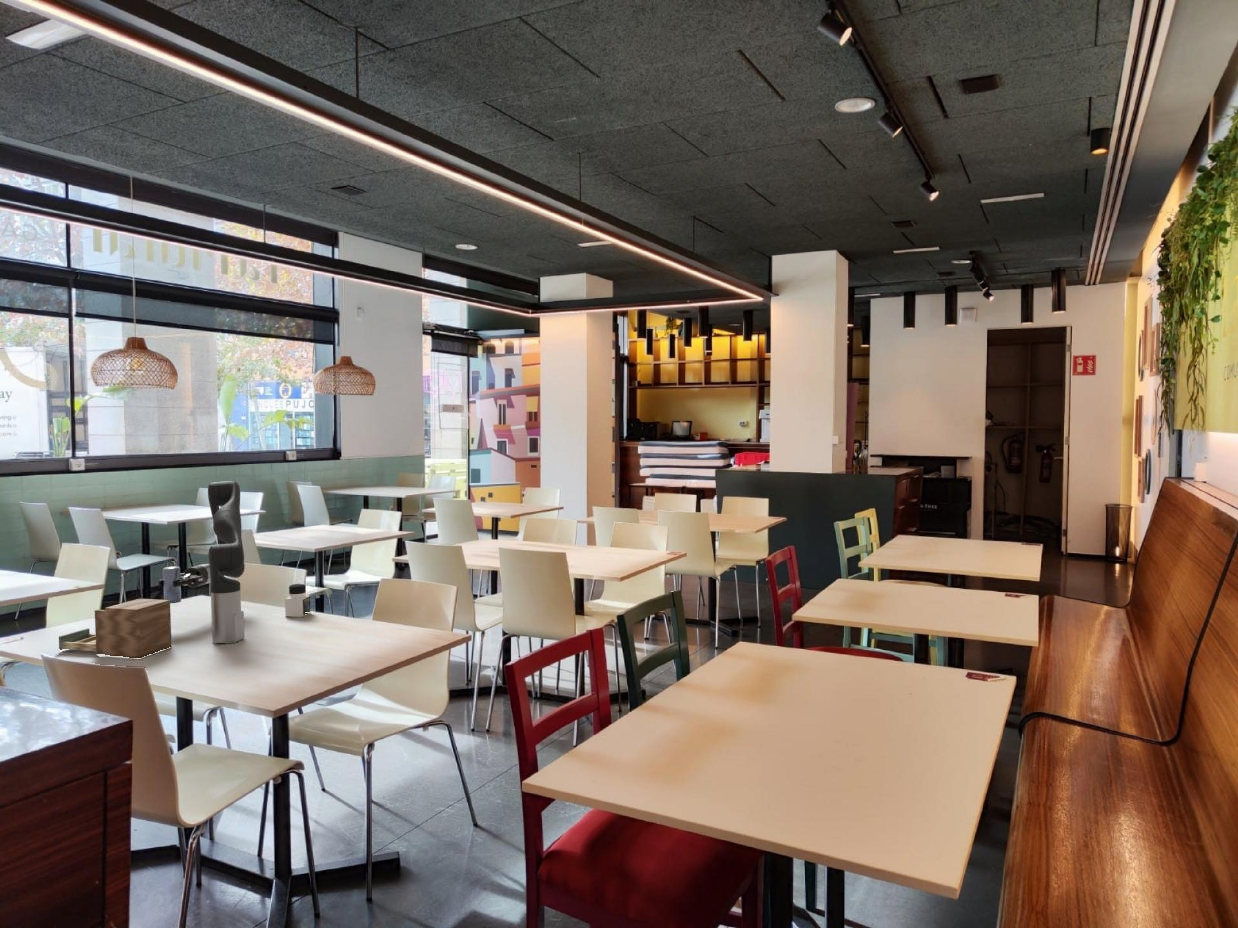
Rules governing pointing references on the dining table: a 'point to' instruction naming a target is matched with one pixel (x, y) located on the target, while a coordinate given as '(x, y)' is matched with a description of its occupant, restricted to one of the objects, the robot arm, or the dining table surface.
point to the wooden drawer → (78, 641)
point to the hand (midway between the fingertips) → (166, 583)
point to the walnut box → (133, 628)
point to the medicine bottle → (297, 601)
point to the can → (171, 584)
